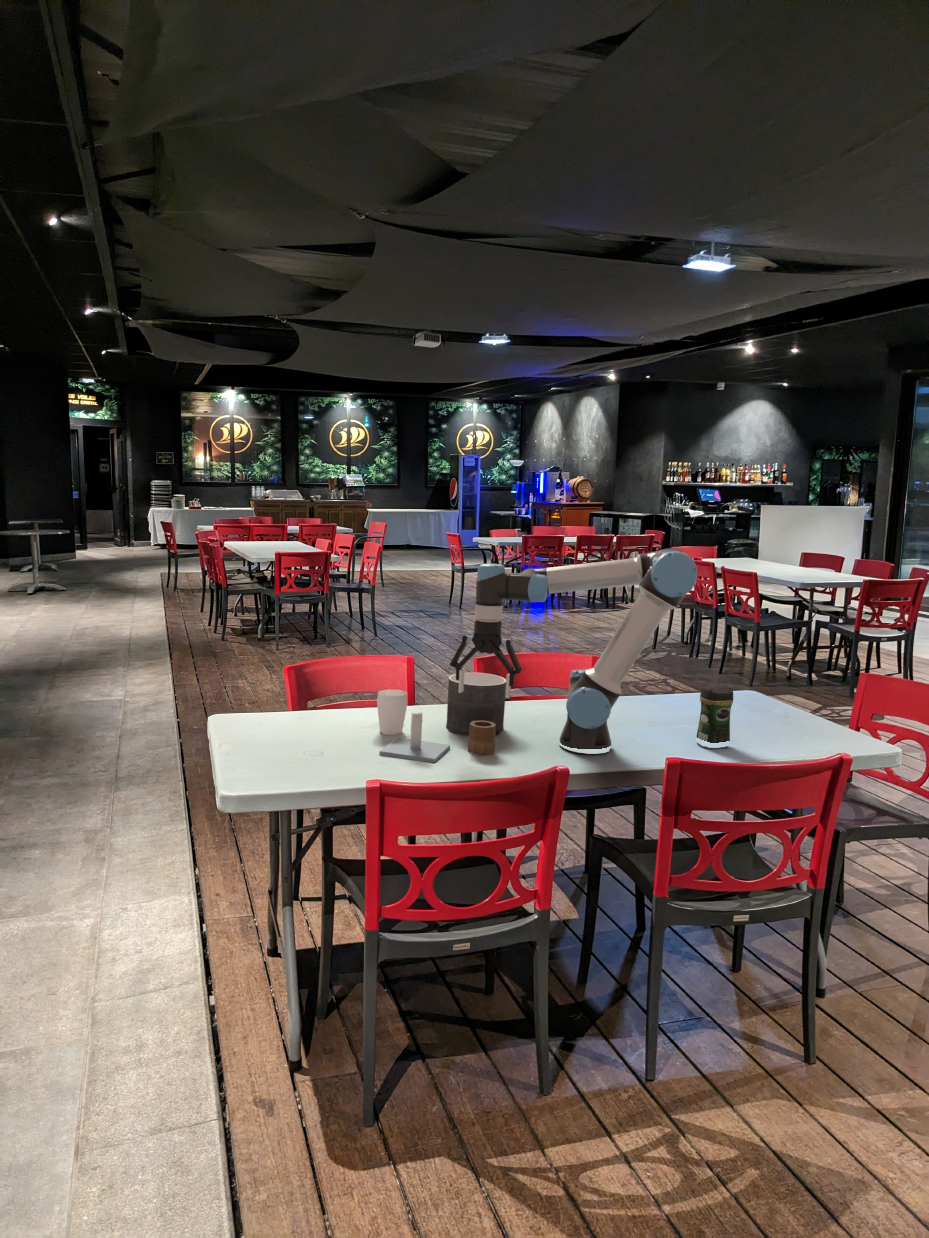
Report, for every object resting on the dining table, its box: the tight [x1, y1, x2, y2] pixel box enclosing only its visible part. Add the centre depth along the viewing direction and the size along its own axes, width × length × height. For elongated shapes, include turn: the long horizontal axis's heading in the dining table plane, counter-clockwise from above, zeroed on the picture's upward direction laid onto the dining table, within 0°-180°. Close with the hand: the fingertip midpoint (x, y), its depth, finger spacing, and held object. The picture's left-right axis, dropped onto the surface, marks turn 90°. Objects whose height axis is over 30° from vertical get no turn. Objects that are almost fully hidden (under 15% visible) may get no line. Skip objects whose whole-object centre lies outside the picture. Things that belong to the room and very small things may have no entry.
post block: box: [379, 711, 451, 764], centre depth 238 cm, size 16×14×11 cm
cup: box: [376, 689, 408, 736], centre depth 255 cm, size 9×9×12 cm
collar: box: [467, 720, 497, 756], centre depth 241 cm, size 7×7×8 cm
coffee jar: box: [696, 685, 734, 743], centre depth 258 cm, size 10×8×19 cm
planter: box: [446, 672, 507, 736], centre depth 264 cm, size 18×18×16 cm
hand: (484, 694), depth 239 cm, fingers open, 13 cm apart
